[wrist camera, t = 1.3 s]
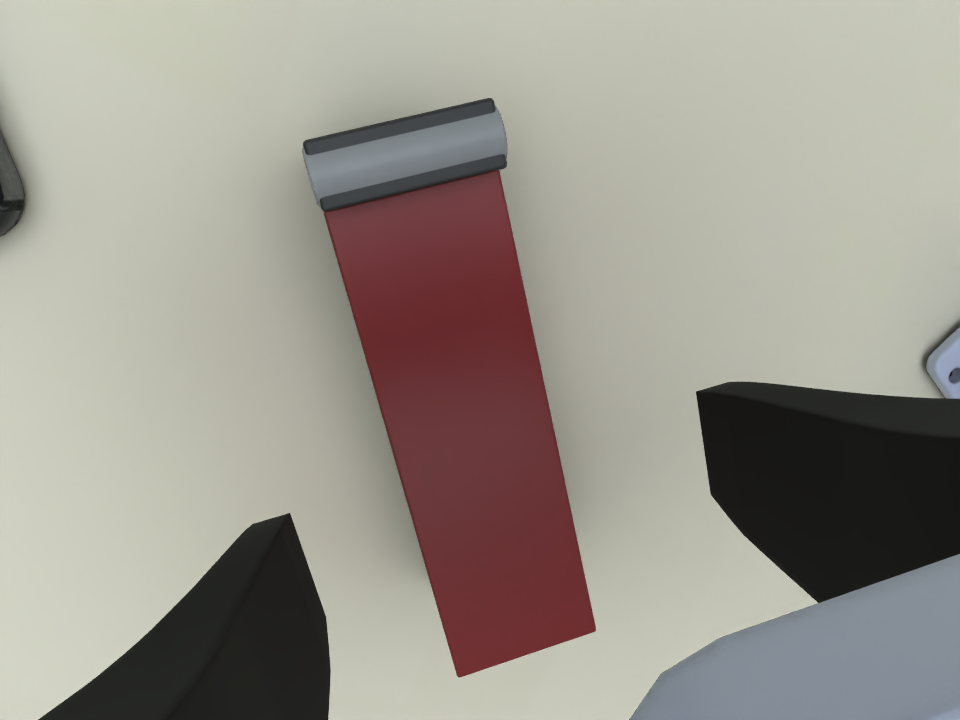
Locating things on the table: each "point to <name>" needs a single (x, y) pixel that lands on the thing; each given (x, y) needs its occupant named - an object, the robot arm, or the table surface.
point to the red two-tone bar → (457, 373)
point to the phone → (9, 191)
